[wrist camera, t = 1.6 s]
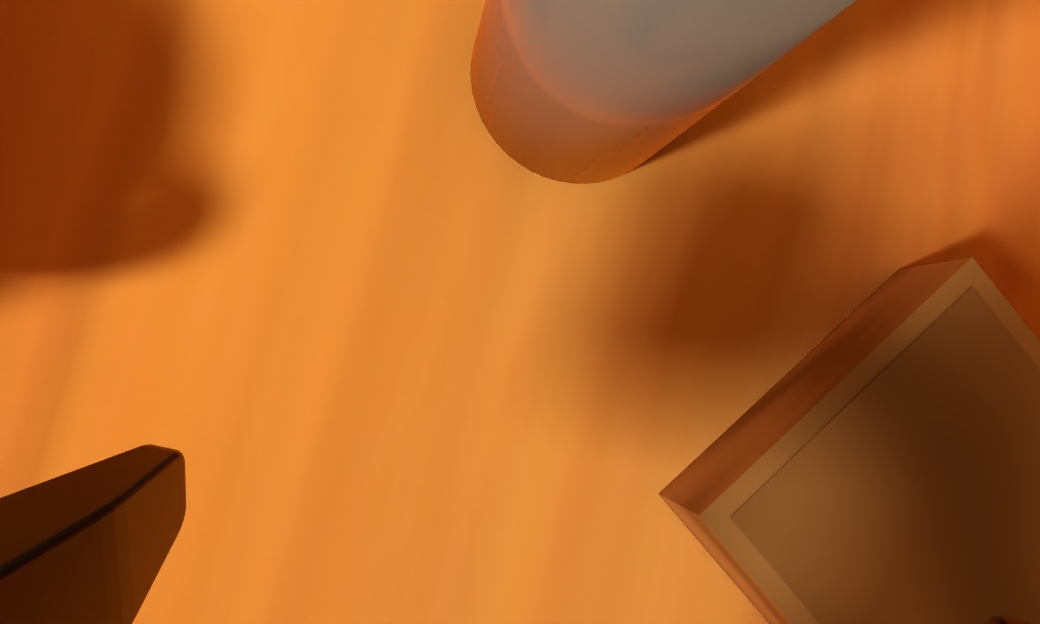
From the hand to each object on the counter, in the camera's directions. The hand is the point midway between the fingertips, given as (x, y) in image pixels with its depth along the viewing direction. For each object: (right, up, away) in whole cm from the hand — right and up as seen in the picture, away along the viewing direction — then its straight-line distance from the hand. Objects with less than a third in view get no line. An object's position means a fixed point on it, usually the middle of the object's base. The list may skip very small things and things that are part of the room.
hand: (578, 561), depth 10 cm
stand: (+9, -2, +14) cm, 17 cm away
